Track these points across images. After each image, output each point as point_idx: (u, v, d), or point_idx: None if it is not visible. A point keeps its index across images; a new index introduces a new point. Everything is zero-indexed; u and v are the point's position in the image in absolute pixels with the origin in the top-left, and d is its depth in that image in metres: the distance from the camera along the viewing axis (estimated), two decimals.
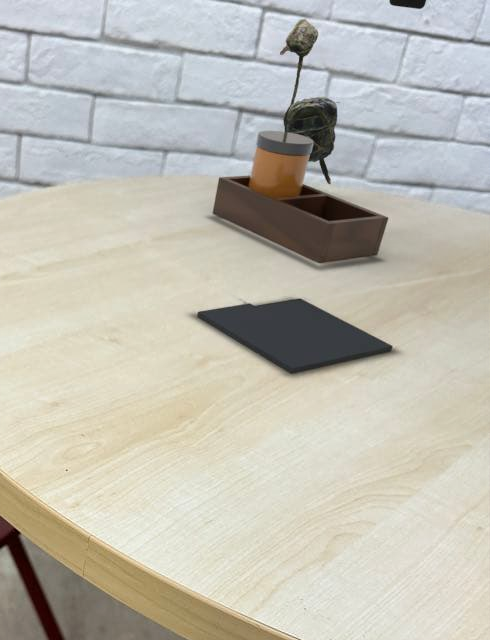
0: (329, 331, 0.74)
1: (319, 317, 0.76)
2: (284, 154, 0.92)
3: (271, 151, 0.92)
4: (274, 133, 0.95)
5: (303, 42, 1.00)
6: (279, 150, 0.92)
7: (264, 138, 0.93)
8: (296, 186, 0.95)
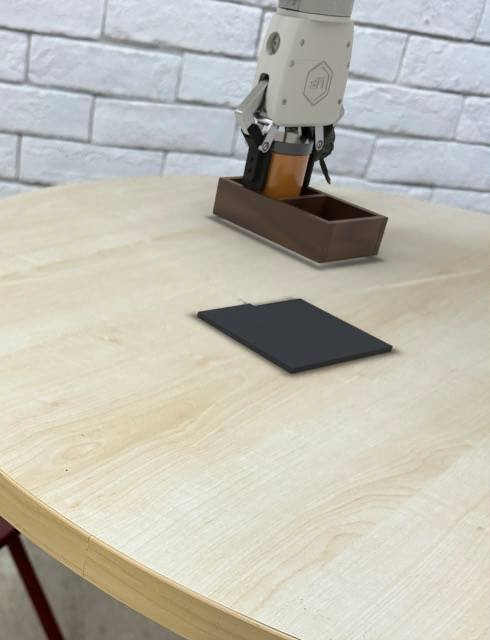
0: (329, 331, 0.74)
1: (319, 317, 0.76)
2: (284, 154, 0.92)
3: (271, 151, 0.92)
4: None
5: None
6: (279, 150, 0.92)
7: None
8: (296, 186, 0.95)
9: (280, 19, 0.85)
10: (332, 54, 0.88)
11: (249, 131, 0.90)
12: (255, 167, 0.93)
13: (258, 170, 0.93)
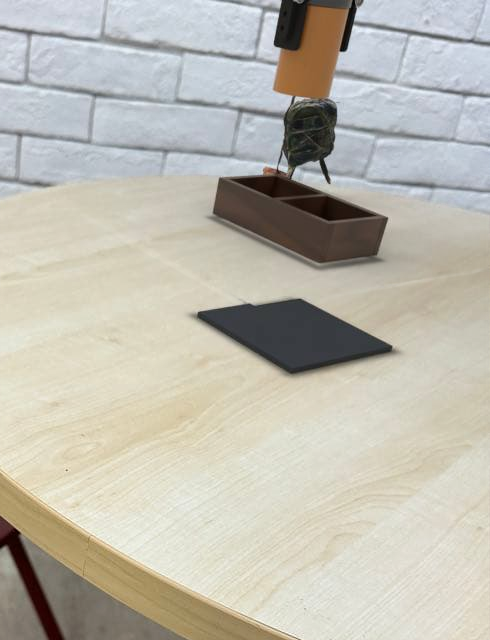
0: (329, 331, 0.74)
1: (319, 317, 0.76)
2: (321, 6, 0.83)
3: (306, 3, 0.83)
4: None
5: None
6: (316, 1, 0.83)
7: None
8: (333, 46, 0.85)
9: None
10: None
11: None
12: (289, 22, 0.83)
13: (292, 26, 0.84)
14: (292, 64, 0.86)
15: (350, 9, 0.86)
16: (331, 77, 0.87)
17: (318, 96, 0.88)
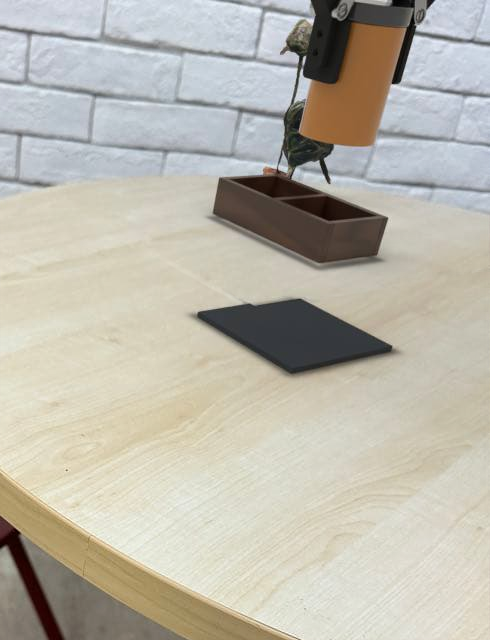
0: (329, 331, 0.74)
1: (319, 317, 0.76)
2: (370, 25, 0.60)
3: (350, 20, 0.61)
4: None
5: (303, 42, 1.00)
6: (363, 17, 0.60)
7: None
8: (384, 77, 0.63)
9: None
10: None
11: None
12: (325, 46, 0.61)
13: (329, 51, 0.61)
14: (328, 100, 0.64)
15: (407, 28, 0.63)
16: (379, 118, 0.65)
17: (361, 144, 0.65)
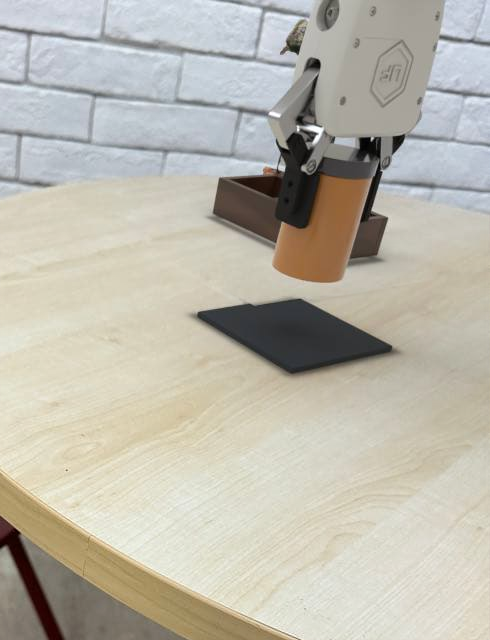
0: (329, 331, 0.74)
1: (319, 317, 0.76)
2: (338, 177, 0.63)
3: (319, 172, 0.64)
4: None
5: None
6: (331, 171, 0.63)
7: None
8: (352, 222, 0.66)
9: None
10: (414, 30, 0.59)
11: (288, 144, 0.61)
12: (295, 196, 0.64)
13: (299, 200, 0.64)
14: (298, 241, 0.67)
15: None
16: (347, 256, 0.68)
17: (330, 280, 0.68)
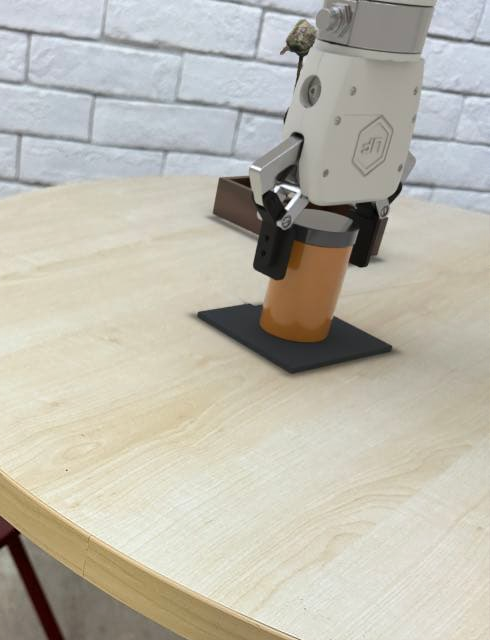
0: (329, 331, 0.74)
1: None
2: (320, 246, 0.66)
3: (302, 241, 0.67)
4: (305, 213, 0.69)
5: (303, 42, 1.00)
6: (313, 240, 0.66)
7: None
8: (334, 286, 0.69)
9: (321, 57, 0.59)
10: (394, 105, 0.62)
11: (263, 200, 0.63)
12: (272, 249, 0.66)
13: (276, 253, 0.66)
14: (283, 304, 0.70)
15: (373, 222, 0.69)
16: (331, 317, 0.71)
17: (315, 340, 0.71)
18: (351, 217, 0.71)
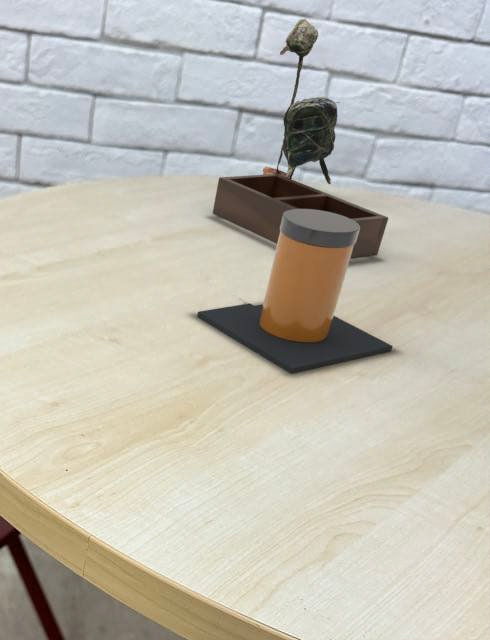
0: (329, 331, 0.74)
1: None
2: (320, 246, 0.66)
3: (302, 241, 0.67)
4: (305, 213, 0.69)
5: (303, 42, 1.00)
6: (313, 240, 0.66)
7: (292, 223, 0.67)
8: (334, 286, 0.69)
9: None
10: None
11: None
12: None
13: None
14: (283, 304, 0.70)
15: None
16: (331, 317, 0.71)
17: (315, 340, 0.71)
18: None
